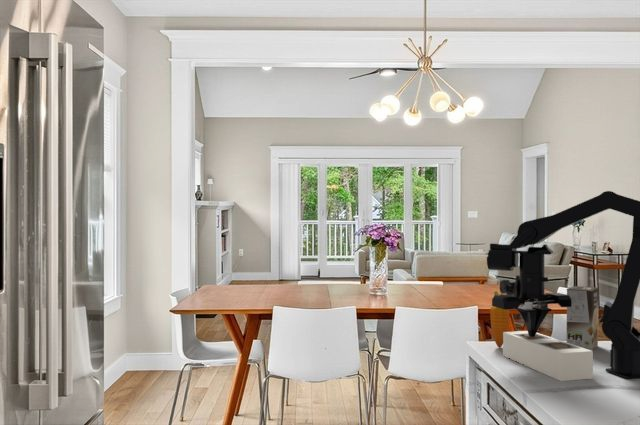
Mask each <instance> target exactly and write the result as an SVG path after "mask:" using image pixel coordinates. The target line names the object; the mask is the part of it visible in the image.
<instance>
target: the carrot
mask: <svg viewBox="0 0 640 425" xmlns="http://www.w3.org/2000/svg"><path fill="white" fill-rule="evenodd" d="M493 294H494V296H495V295H499V293H498V291H497V290H496V291H495V290H494V291H493ZM500 295H505V294H502V293H500ZM489 312H490V313H489V315H490V328H491V333H492V337H493V339H494V342H495V345H496V346H497V347H498V348H499V349H500V348H502V347H503V332H508V328H509V318H510V309H509V310H506V309H501V308H498V307H494V306H492V305H491V307H490V311H489Z"/></svg>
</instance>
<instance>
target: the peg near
mask: <svg viewBox="0 0 640 425" xmlns="http://www.w3.org/2000/svg"><path fill="white" fill-rule="evenodd" d="M550 346H551V347H554V348H557V349H558V348H568V346H567V345H563V344H550Z"/></svg>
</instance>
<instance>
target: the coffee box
mask: <svg viewBox="0 0 640 425" xmlns="http://www.w3.org/2000/svg"><path fill="white" fill-rule="evenodd" d="M566 295H569V296H570V298H571V299H572V307H566V342H567V343H570V344H573V345H576V346H579V347H582V348H585V349H588V350H591V351H593V352H594V350H595V349H596V348H598V346H599V287H595V286H594V287H593V286H577V285H574V286H571V287H568V288H566Z"/></svg>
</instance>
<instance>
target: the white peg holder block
mask: <svg viewBox="0 0 640 425" xmlns="http://www.w3.org/2000/svg"><path fill="white" fill-rule="evenodd" d="M524 335H529V334H528V331H527V330H518V331H517V330H516V331H507V332H503V345H502V349H503V350H502V356H503V357H505V358H507V359H509V358H510V360H512V361H514V362H516V361H517V363H518V362H519V364H521V365H523V364H524V365H523V366H525V367H528V368H531V369H533V370H534V371H537V372H539V373H542V374H543V375H546V376H549V377H550V378H552V379H555V380H558V381H560V382H568V381H569V382H570V381H577V380H578V381H579V380H581V381H582V380H592V379H594V350H593V351H591V350H588V349H585V348H582V347H579V346H576V345H573V344H570V343H567V341H563V340H560V339H559V338H555V337H552V336H548V335H545V334H542V333H539V332H537V333H536V334H535V335H537V336H539V337H540V338H534V339H528V338H526V337H524ZM550 344H563V345H567V346H568V348H558V349H557V348H554V347H551V346H550Z"/></svg>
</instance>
